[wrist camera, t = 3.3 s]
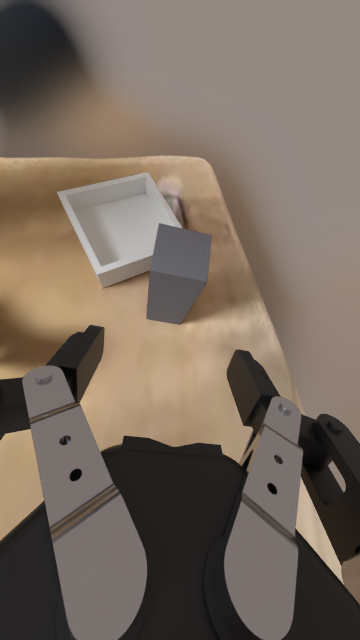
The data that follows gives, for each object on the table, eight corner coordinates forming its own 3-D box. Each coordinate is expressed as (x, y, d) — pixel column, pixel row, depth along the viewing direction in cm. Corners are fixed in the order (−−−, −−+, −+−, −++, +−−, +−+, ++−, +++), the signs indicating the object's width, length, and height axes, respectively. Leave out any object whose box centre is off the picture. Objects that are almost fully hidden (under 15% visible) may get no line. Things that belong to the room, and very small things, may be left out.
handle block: (146, 318, 26) (149, 270, 15) (152, 288, 27) (159, 222, 16) (179, 324, 26) (207, 282, 15) (183, 294, 28) (211, 235, 17)
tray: (102, 288, 26) (96, 274, 23) (66, 214, 28) (56, 192, 25) (185, 257, 30) (190, 241, 26) (147, 193, 32) (148, 171, 29)
